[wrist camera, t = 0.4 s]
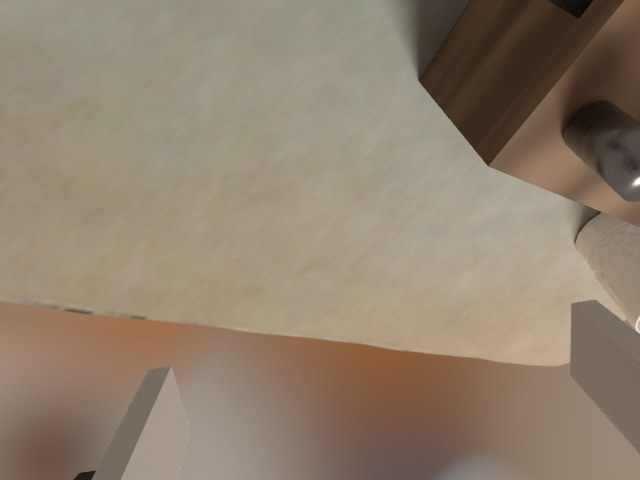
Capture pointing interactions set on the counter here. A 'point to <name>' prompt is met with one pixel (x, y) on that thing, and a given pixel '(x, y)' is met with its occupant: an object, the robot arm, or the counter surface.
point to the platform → (539, 87)
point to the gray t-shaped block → (608, 146)
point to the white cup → (614, 260)
